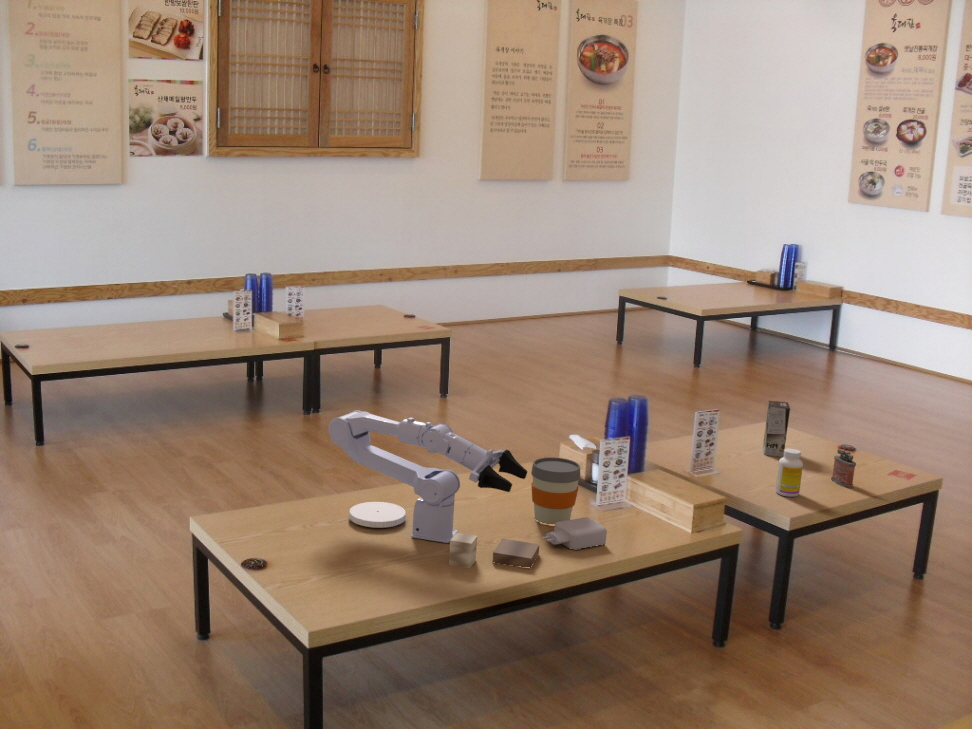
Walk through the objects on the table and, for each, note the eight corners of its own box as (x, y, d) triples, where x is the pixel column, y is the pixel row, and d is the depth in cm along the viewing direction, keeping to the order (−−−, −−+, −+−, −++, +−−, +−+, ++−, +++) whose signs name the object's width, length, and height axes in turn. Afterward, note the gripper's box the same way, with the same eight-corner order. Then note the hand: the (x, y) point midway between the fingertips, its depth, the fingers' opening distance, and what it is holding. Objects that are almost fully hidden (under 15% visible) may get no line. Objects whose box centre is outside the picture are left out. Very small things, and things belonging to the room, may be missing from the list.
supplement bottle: (803, 497, 310) (809, 454, 307) (783, 498, 308) (788, 454, 305) (790, 489, 316) (796, 447, 313) (770, 490, 314) (776, 447, 311)
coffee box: (784, 457, 347) (790, 408, 343) (763, 455, 348) (769, 406, 344) (782, 449, 355) (788, 401, 352) (762, 447, 356) (768, 399, 353)
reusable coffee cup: (536, 530, 272) (540, 473, 268) (521, 512, 283) (525, 457, 280) (583, 528, 275) (588, 472, 272) (566, 510, 287) (571, 456, 284)
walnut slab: (492, 564, 250) (493, 552, 250) (501, 550, 259) (502, 538, 258) (530, 570, 248) (531, 558, 248) (538, 556, 257) (539, 544, 256)
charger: (533, 542, 265) (583, 533, 272) (554, 556, 257) (605, 546, 265) (534, 523, 264) (584, 515, 271) (556, 537, 256) (607, 528, 264)
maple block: (448, 564, 248) (450, 540, 246) (454, 556, 252) (456, 532, 251) (469, 568, 246) (471, 543, 245) (475, 560, 251) (477, 535, 250)
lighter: (855, 487, 321) (860, 455, 319) (846, 488, 320) (850, 456, 318) (837, 478, 328) (841, 447, 326) (828, 479, 327) (832, 447, 325)
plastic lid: (376, 536, 262) (376, 526, 262) (337, 519, 271) (337, 510, 270) (416, 522, 273) (417, 512, 272) (378, 507, 282) (378, 497, 281)
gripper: (457, 452, 248) (508, 479, 244) (488, 430, 260) (536, 455, 256) (450, 477, 252) (500, 504, 247) (481, 454, 263) (529, 479, 259)
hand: (518, 481), depth 252 cm, fingers open, 7 cm apart
